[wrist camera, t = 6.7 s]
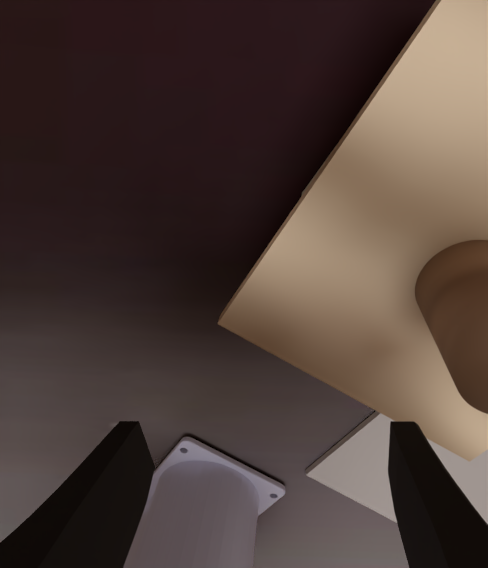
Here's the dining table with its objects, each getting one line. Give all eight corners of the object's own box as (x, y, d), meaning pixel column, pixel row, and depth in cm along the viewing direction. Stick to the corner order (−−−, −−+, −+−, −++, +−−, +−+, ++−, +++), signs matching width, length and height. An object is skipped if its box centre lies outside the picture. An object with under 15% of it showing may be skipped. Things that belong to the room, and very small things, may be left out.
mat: (466, 554, 29) (468, 560, 29) (305, 469, 27) (305, 474, 26) (664, 453, 22) (669, 459, 22) (473, 329, 20) (476, 334, 20)
